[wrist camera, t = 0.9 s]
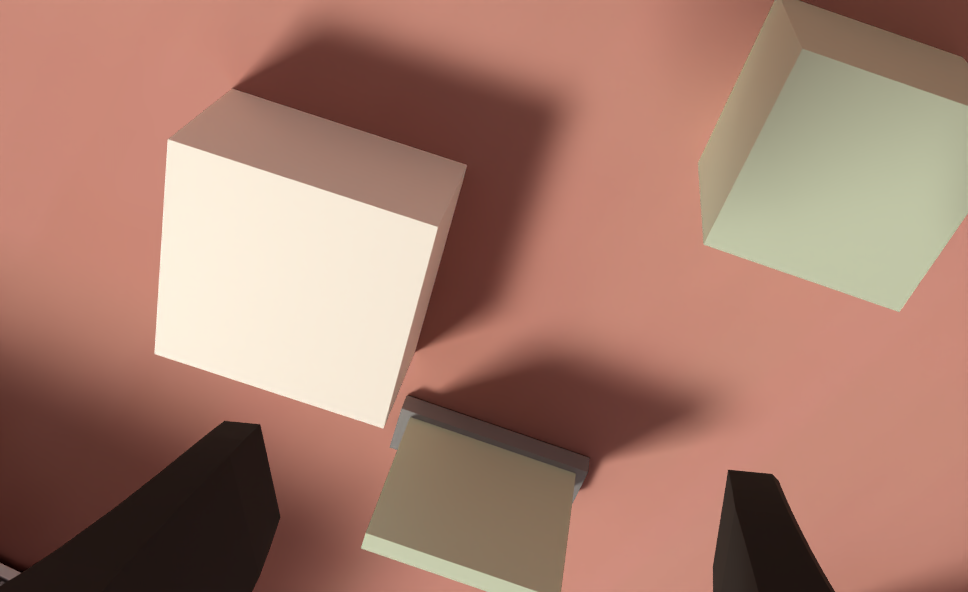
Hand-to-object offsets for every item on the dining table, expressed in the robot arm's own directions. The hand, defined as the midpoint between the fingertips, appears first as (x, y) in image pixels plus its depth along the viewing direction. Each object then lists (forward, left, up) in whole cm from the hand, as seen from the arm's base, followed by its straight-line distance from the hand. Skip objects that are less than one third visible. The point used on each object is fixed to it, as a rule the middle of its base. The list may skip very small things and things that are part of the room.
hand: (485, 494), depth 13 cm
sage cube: (-5, -4, -10) cm, 12 cm away
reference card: (-1, +8, -10) cm, 12 cm away
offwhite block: (+5, +3, -10) cm, 11 cm away
